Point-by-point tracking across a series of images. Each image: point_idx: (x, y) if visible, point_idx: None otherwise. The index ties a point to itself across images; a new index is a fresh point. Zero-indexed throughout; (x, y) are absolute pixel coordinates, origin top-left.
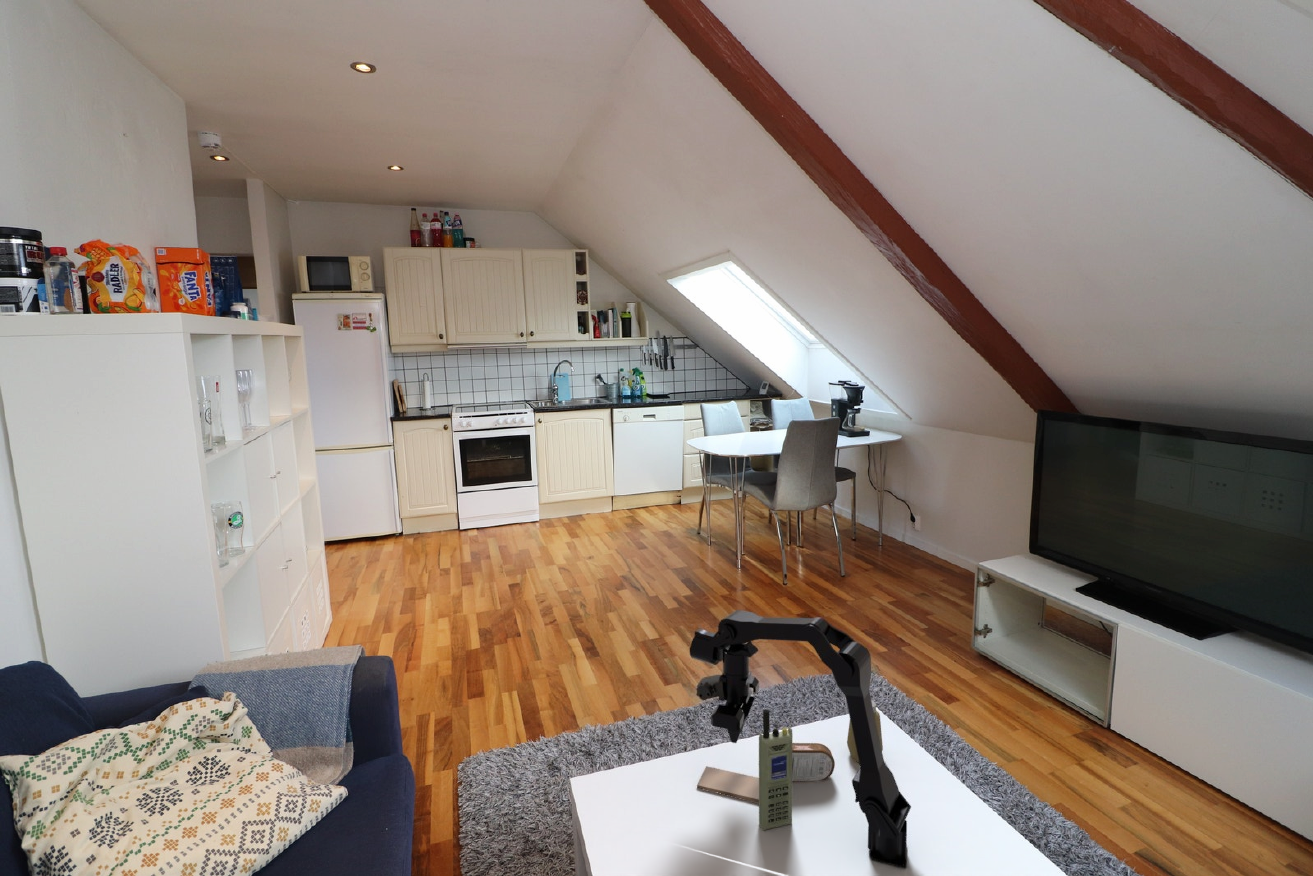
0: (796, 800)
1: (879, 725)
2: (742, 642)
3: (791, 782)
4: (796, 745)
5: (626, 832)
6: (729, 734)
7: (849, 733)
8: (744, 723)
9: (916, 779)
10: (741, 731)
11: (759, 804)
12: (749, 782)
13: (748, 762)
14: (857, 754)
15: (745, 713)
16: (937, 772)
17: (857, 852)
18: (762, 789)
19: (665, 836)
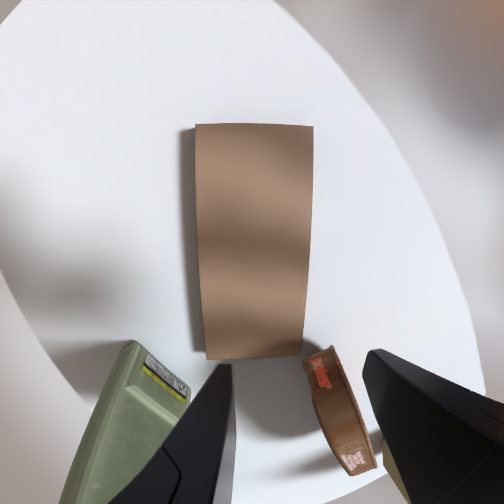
0: (259, 393)
1: None
2: None
3: None
4: (362, 452)
5: (12, 57)
6: (184, 415)
7: None
8: (385, 440)
9: (358, 476)
10: (364, 382)
11: (116, 378)
12: (273, 294)
13: (385, 252)
14: (390, 452)
15: (422, 495)
16: (372, 480)
17: None
18: (85, 430)
19: (14, 136)
